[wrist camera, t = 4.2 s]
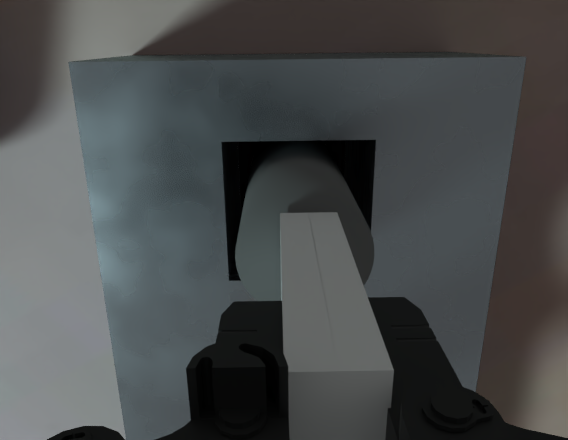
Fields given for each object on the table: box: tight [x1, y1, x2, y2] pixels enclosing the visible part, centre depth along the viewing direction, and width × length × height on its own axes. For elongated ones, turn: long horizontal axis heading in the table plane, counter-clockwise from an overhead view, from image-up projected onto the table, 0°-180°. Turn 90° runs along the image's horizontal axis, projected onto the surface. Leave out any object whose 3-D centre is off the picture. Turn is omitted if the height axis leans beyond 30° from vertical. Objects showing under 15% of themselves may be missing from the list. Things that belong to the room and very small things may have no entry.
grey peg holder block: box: [69, 52, 526, 440], centre depth 23 cm, size 14×25×7 cm, turn 1°
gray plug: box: [235, 140, 374, 301], centre depth 18 cm, size 4×4×10 cm
